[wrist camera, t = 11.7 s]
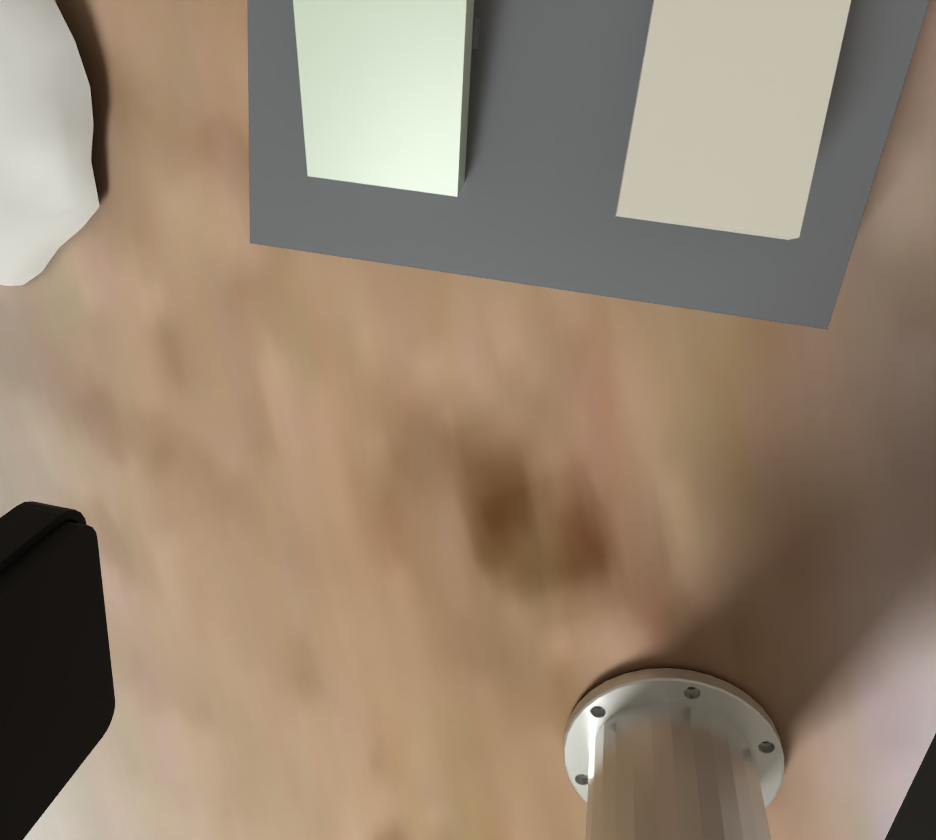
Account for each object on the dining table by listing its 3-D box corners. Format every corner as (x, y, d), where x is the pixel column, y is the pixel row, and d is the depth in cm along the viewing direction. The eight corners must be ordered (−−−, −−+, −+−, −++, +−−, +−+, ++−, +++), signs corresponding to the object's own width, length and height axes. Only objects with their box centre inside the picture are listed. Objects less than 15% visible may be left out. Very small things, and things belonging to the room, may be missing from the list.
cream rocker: (788, 239, 27) (800, 237, 26) (615, 215, 28) (617, 212, 27) (864, -108, 25) (882, -134, 24) (675, -125, 26) (680, -151, 25)
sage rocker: (464, 181, 31) (456, 198, 30) (319, 162, 32) (305, 178, 31) (482, -161, 24) (472, -156, 23) (295, -177, 25) (275, -173, 24)
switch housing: (801, 296, 36) (834, 337, 30) (293, 222, 38) (239, 248, 33) (943, -194, 28) (1021, -257, 23) (299, -242, 31) (229, -309, 25)
